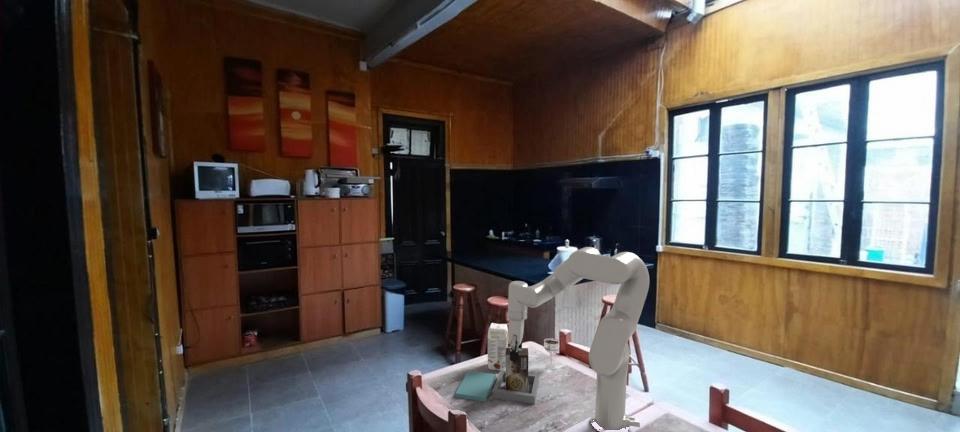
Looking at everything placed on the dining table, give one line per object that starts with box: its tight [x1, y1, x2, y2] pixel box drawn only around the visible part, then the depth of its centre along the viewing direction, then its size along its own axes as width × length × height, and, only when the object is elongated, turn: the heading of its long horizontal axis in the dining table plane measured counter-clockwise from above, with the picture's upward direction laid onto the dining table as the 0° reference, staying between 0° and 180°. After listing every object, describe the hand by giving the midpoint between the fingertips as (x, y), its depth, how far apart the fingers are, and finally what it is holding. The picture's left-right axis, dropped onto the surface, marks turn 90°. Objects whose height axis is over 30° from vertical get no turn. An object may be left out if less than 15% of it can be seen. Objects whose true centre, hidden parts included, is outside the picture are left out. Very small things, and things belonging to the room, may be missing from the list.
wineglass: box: [543, 337, 560, 370], centre depth 170 cm, size 7×7×12 cm
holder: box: [492, 370, 540, 405], centre depth 152 cm, size 16×16×3 cm
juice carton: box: [487, 322, 509, 372], centre depth 169 cm, size 8×9×19 cm
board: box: [454, 370, 497, 402], centre depth 154 cm, size 12×18×2 cm, turn 166°
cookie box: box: [505, 347, 529, 393], centre depth 151 cm, size 9×6×16 cm
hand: (516, 355), depth 151 cm, fingers open, 9 cm apart
